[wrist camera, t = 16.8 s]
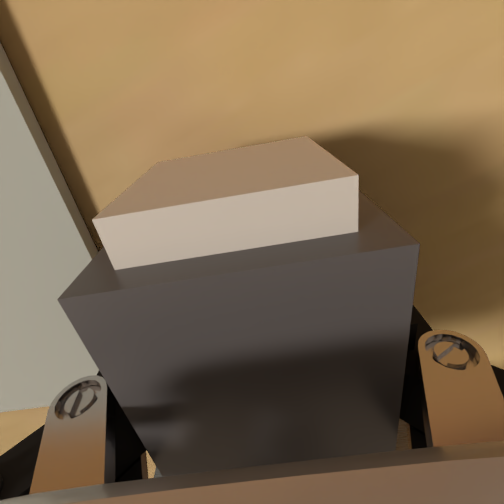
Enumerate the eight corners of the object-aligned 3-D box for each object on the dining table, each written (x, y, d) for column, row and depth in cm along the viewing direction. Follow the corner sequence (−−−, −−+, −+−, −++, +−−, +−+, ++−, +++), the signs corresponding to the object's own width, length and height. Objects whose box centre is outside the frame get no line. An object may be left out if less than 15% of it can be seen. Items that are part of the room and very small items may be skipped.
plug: (339, 451, 18) (377, 597, 13) (242, 463, 18) (242, 610, 13) (325, 128, 9) (427, 179, 4) (141, 161, 10) (25, 245, 4)
